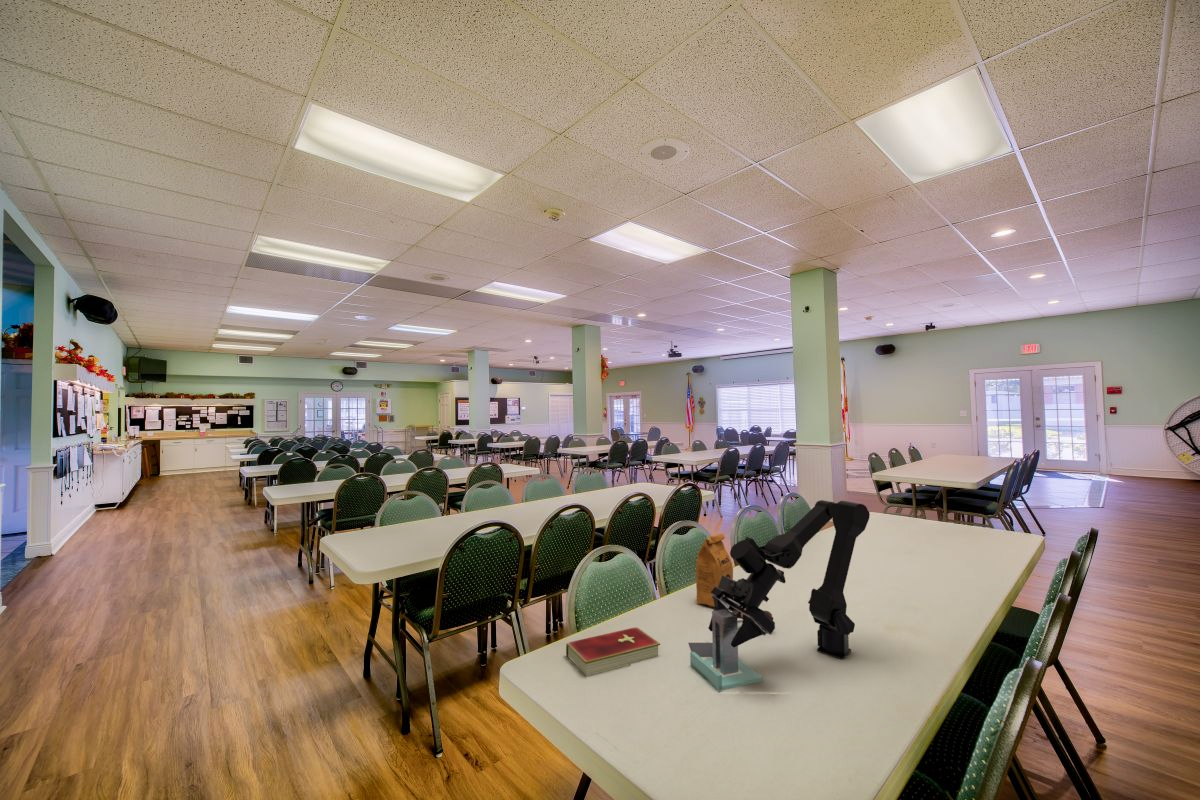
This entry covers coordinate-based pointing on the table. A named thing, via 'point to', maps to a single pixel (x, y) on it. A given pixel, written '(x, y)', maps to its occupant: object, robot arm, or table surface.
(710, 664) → the teal base plate
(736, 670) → the grey tower block
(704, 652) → the mat
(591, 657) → the hardcover book
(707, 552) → the coffee package
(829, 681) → the table surface
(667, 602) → the table surface
